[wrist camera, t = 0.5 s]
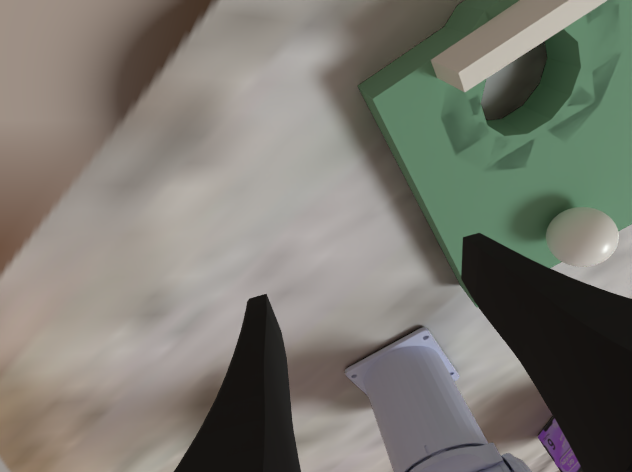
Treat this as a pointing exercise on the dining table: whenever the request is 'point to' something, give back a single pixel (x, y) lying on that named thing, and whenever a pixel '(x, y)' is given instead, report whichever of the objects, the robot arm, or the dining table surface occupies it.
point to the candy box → (559, 447)
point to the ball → (582, 236)
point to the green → (513, 122)
